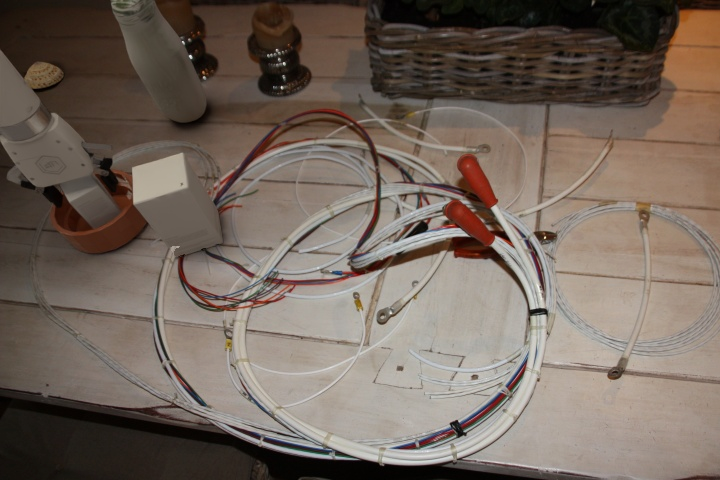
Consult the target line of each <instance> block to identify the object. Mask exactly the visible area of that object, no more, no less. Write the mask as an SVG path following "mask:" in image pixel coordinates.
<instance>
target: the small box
mask: <svg viewBox="0 0 720 480" xmlns="http://www.w3.org/2000/svg"><path fill="white" fill-rule="evenodd" d="M58 186H59V187H60V189H61V192H62V191H63V193H64V194H65V196H66V198H67V200H68V202H69V203H70V204H71V205H72V206H73V207H74V209H75V210H76V211H77V212H78V213H79V214H80V215H81V216H82V217H83V218H84V219H85V220H86V221H87V222H88V224H89V225H90V226H91V227H92V228H93V229H96V228H99V227H101V226H103V225H105V224H107V223H109V222H111V221H112V220H113V219H114V218H116V217H117V216H118V215H119V214H121V212H122V211H121V209H120V208H119V206H118V205H117V203H116V201H115V200H114V198H113V197H112V196H111V195H110V193H109V192H108V191H107V190H106V188H105V187H104V186H103V185H102V183H101V182H100V181H99V180H98V178H97V177H96V176H95V175H94V174H93V172H92V173H91V174H89V175H87V176H84V177H81V178H77V179H74V180H70V181H66V182H63V183H59V184H58Z"/></svg>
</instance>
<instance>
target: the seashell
mask: <svg viewBox="0 0 720 480" xmlns="http://www.w3.org/2000/svg"><path fill="white" fill-rule="evenodd" d="M64 77H65V74H64V72H63V70H62V69H61V68H60V67H58V66H56V65H55V64H52V63H49V62H44V61H36V62H34V63H33V64H31V66H29V68H28V69H27V72H26V74H25V75H24V77H23V79H24V80H25V81H26V82H27V84H28V85H29V86H30V87H31V89H32V90H34V89H36V90H37V89H38V90H39V89H44V88H48V87H51V86H53V85H56V84H58V83H60V81H62V80H63V78H64Z"/></svg>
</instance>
